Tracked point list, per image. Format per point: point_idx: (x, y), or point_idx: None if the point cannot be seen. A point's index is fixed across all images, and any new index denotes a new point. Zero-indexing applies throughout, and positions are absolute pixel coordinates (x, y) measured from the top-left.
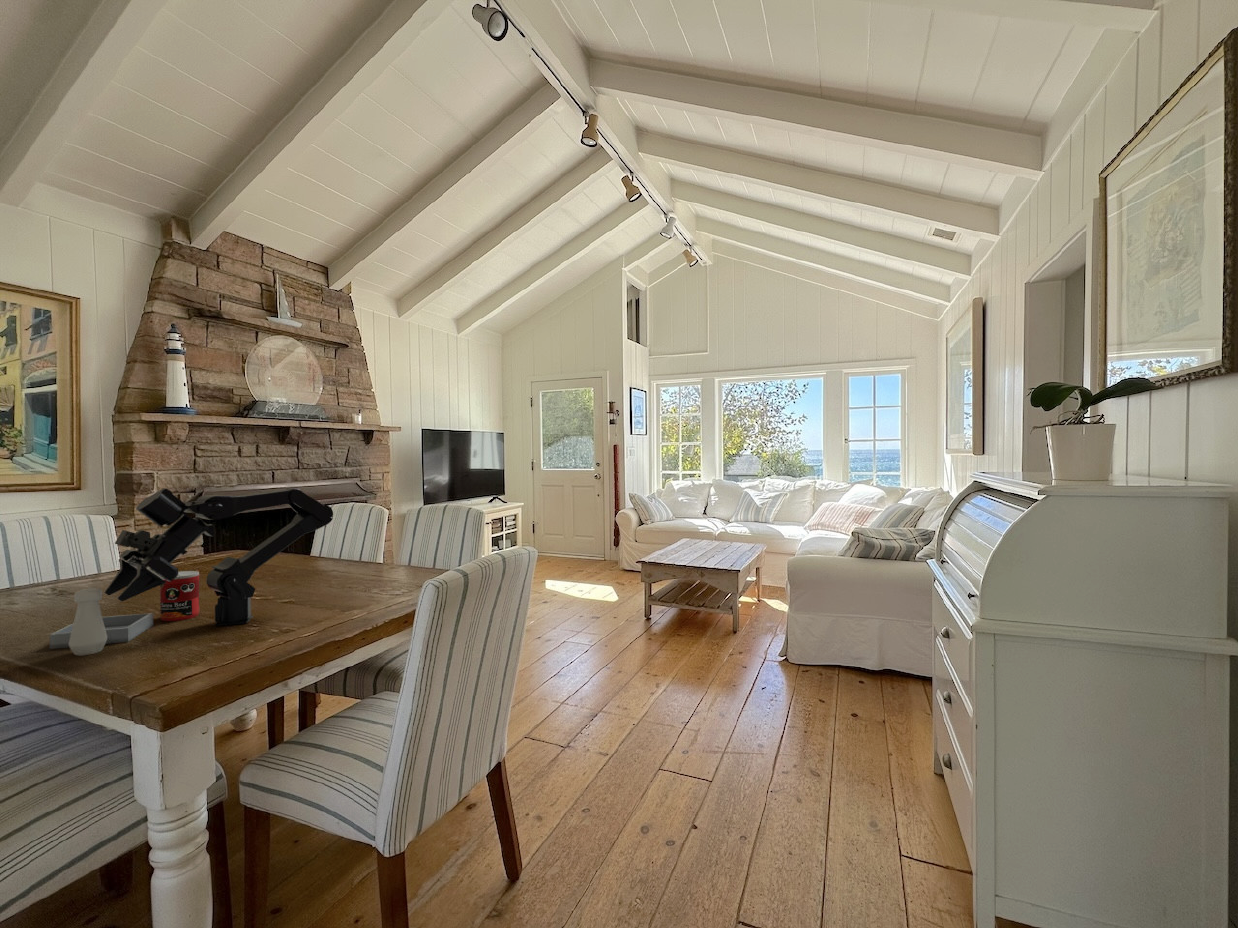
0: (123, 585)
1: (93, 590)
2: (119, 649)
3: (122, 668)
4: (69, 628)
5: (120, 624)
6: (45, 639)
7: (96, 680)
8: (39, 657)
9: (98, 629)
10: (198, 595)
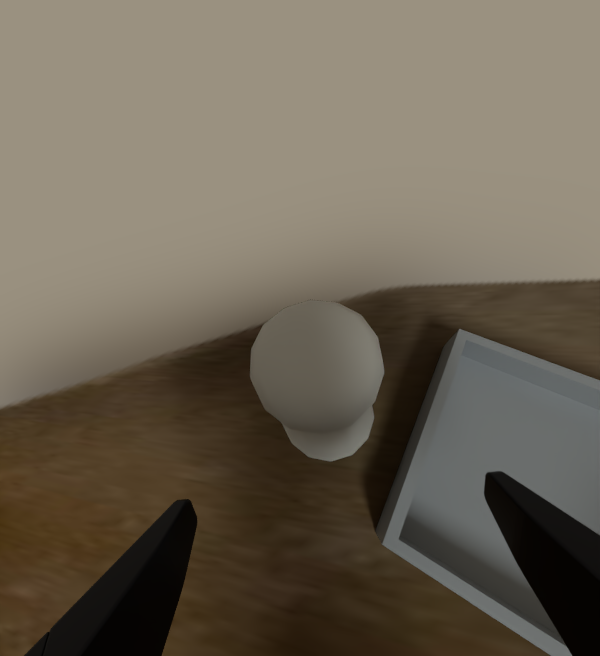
0: (582, 647)
1: (266, 373)
2: (291, 487)
3: (94, 458)
4: (562, 380)
5: None
6: (590, 341)
7: (65, 402)
8: None
9: (288, 428)
10: None
